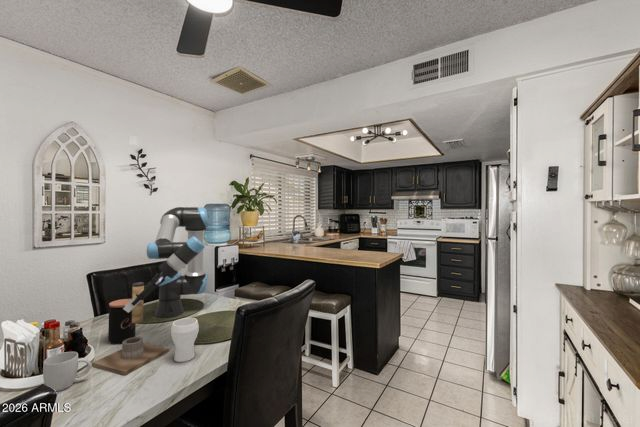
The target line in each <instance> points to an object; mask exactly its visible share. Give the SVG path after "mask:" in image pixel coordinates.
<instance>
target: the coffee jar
mask: <svg viewBox="0 0 640 427" xmlns="http://www.w3.org/2000/svg"><path fill="white" fill-rule="evenodd" d="M131 299H132V298H123V299H117V300H113V301H111V302H109V303H108V306H109V308H108V328H107V329H108V332H107V333H108V334H107V335H108V338H107V339H108V340H107V341H108V342H109V343H110V344H112V345H122V342H123V341H124V340H126V339H128V338H132V337H136V326H137V325H136V324H137V323H132V310H131V311H130V312H129V313H128V312H127V311H125V310H124V309H123V308H124V307H125V305H126V304H127V303H128V302H129V301H130V300H131Z"/></svg>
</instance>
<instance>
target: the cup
mask: <svg viewBox="0 0 640 427" xmlns="http://www.w3.org/2000/svg"><path fill="white" fill-rule="evenodd" d="M170 328H171V329H170V338H171V341H172V342H173V344H174V346H175V352H174V358H173V359H174V361H175V362H177V363H184V362H189V361H190V360H193V359H194V357H195V356H196V355H195V349H194V347H195V346H194V345H195V342H196V339H197V338H198V333H199V332H200V331H199V328H200V325H199V322H198V319H197V318H194V317H185V318H180V319H177V320H174V321H173V323H172V324H171V327H170Z"/></svg>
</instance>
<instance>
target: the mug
mask: <svg viewBox="0 0 640 427" xmlns="http://www.w3.org/2000/svg"><path fill="white" fill-rule="evenodd" d="M79 363H85V364H86V365H87V368H86V370H84V371H83V372H81V373H78V367H79ZM91 369H92V361H91V360H89V358H85V357H82V358H80V357H79V353H78V352H77V351H66V352H60V353H57V354H53V355H51V356H49V357H47V358H46V359H44V360H43V367H42V378H43V383H44V386H45V385H48V386H50V387H52V388H53V389H55V390H56V392H61V391H63V390H66V389H68V388H70V387H71V386H72V385H73V384H74V382H75V379H79V378H81V377H82V378H83V377H85V376H86V375H87V374H88V373H89V372H90V370H91ZM77 373H78V374H77Z"/></svg>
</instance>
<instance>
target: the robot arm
mask: <svg viewBox="0 0 640 427" xmlns="http://www.w3.org/2000/svg"><path fill="white" fill-rule="evenodd" d="M159 223H160V227H159V230H158V232H157V235H156V238H155V240H154V242H149V243H148V244H147V245H146V257H147V259H149V260H150V259H151V260H155V259H156V260H158V259H159V260H161V259H163V260H164V259H166V261H164V262H162V263H161V264H160V265H159V266H158V268H159V270H160V272H157V273H156V274H155V275H154V277H153V278H151V280H150V281H149V282H147V283H146V285H144V290H143V291H142V292H141V293H140V294H139V295H137V294H136V297H135V298H134V299H133V300H132V298H130V299H131V300H130V301H129V302H128V303H127V304H126V305H125V307H124V308H123V309H124V310H125V311H127V312H128V313H129V312H130V311H131V310H132V309H133V308H134V307H135V306H136V305H137V304H138V303H140V302H141V301H142V300H143V301H145V299H146V298H147V297H148V296H149V295H150V294H151V293H152V292H154V290H156V289H157V288H158V302H157V305H156V306H157V307H156V309H155V311H154V315H155V317H156V318H171V317H176V315H177V316H179V315H181V314H183V313H184V306H183V303H182V300H181V296H186V295H188V296H189V295H199V294H203V293H205V292H206V289H207V284H208V273H207V274H206V271H205V270H204V269H203V266H204V264H203V263H204V261H203V260H204V249H205V244H204V232H205V231H206V230H207V228H208V227H209V218H208V210H207V208H205V207H199V206H197V207H196V206H195V207H193V206H192V207H191V206H190V207H187V206H186V207H185V206H184V207H181V206H177V207H173V208H171V209H168V210H167V211H166V212H165V213H164V214H163V215H162V216H161V218H160V221H159ZM178 227H179V228H180V227H183V228H184V230H185V232H186V233H187V240H186V241H179V242H178V241H177V242H176V241H175V242H174V238H175V234H176V230H177V228H178ZM186 266H187V269H186ZM183 269H186V271H185V272H184V275H182V273H180V272H181V271H182V270H183ZM182 312H183V313H182Z"/></svg>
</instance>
